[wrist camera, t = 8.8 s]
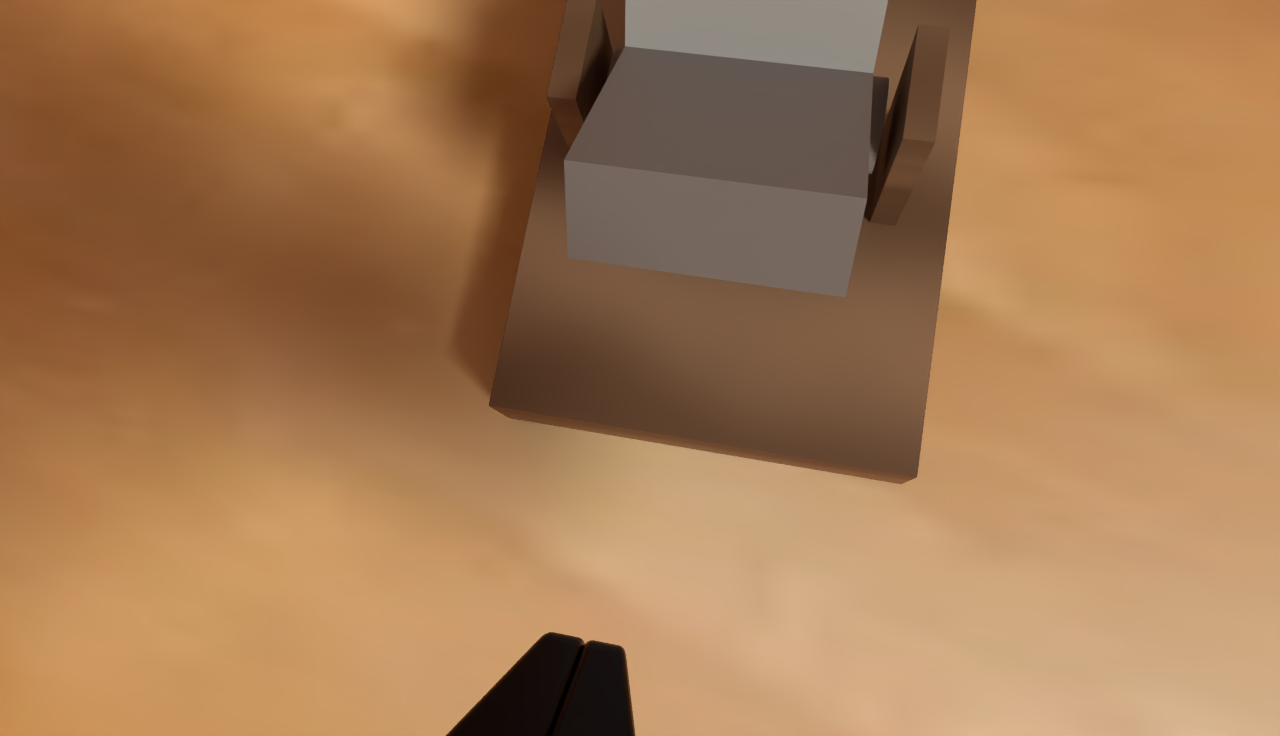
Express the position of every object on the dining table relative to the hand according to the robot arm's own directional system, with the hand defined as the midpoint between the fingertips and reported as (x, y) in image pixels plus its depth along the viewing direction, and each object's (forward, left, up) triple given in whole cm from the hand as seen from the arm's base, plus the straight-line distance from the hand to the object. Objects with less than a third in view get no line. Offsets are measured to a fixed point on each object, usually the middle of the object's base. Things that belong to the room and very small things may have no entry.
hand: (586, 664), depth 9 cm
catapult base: (+10, +5, -13) cm, 17 cm away
